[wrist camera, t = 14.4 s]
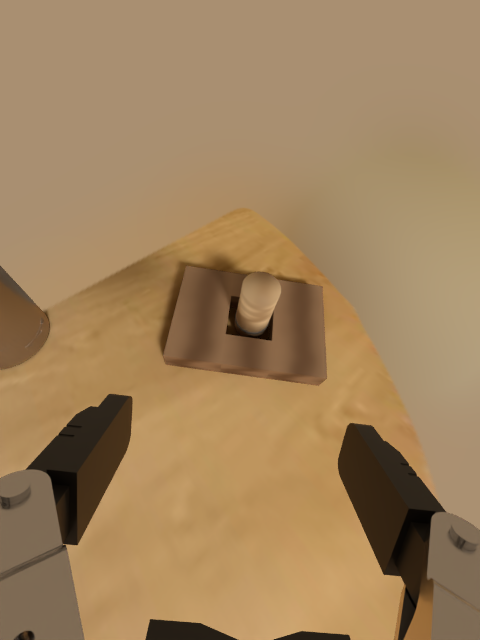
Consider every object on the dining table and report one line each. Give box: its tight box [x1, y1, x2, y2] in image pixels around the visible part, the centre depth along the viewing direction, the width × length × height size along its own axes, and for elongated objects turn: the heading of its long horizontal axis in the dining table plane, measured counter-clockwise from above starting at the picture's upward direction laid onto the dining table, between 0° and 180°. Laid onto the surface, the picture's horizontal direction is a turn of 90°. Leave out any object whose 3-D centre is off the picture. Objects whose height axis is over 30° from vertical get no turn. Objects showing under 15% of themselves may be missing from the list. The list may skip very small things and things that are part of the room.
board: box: [163, 266, 327, 386], centre depth 39 cm, size 20×14×3 cm
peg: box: [235, 272, 281, 338], centre depth 36 cm, size 5×5×10 cm
